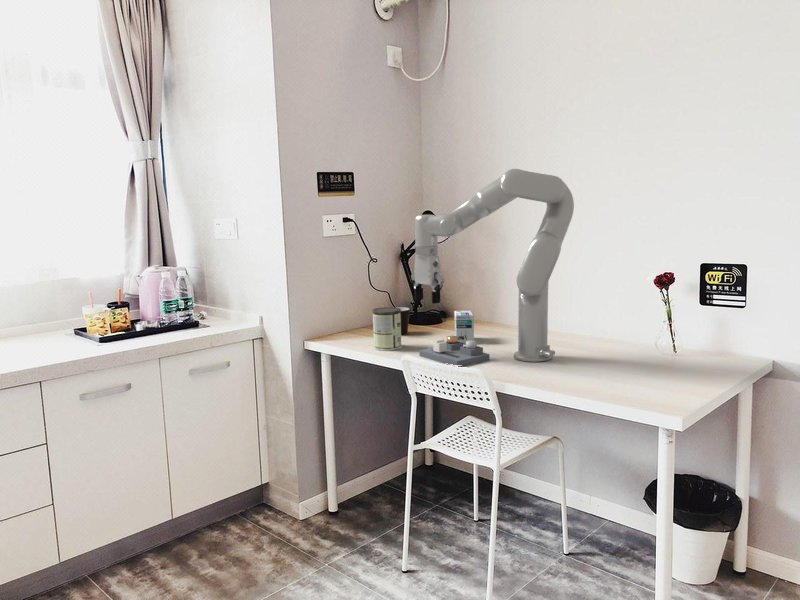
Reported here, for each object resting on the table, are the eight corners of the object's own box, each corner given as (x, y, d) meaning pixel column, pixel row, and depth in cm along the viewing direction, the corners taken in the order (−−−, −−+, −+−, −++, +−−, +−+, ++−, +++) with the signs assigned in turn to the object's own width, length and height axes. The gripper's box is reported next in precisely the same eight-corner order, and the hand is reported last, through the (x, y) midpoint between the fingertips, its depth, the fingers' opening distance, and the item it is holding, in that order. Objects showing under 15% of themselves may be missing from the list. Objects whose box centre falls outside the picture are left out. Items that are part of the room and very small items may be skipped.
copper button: (459, 344, 232) (459, 336, 231) (451, 345, 230) (451, 338, 229) (452, 342, 235) (452, 335, 234) (444, 344, 232) (444, 336, 232)
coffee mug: (393, 331, 274) (392, 307, 272) (413, 332, 271) (412, 307, 269) (382, 337, 263) (382, 311, 261) (403, 338, 260) (402, 312, 258)
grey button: (479, 349, 224) (479, 341, 223) (470, 350, 221) (470, 343, 221) (471, 347, 226) (471, 339, 226) (463, 349, 224) (463, 341, 224)
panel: (489, 360, 222) (489, 348, 222) (457, 367, 214) (456, 355, 214) (450, 349, 239) (450, 338, 238) (419, 355, 231) (419, 344, 230)
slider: (446, 350, 226) (446, 339, 226) (439, 352, 224) (439, 341, 224) (440, 349, 229) (440, 338, 228) (433, 350, 227) (433, 339, 226)
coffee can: (374, 344, 250) (373, 307, 248) (401, 344, 250) (401, 306, 247) (372, 351, 240) (371, 312, 238) (401, 350, 239) (400, 311, 237)
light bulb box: (474, 343, 247) (474, 315, 245) (456, 344, 247) (455, 315, 246) (471, 337, 258) (471, 310, 256) (454, 338, 258) (453, 310, 256)
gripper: (451, 252, 222) (451, 303, 225) (420, 249, 236) (421, 297, 239) (433, 253, 218) (433, 305, 221) (403, 250, 232) (404, 299, 235)
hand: (427, 301), depth 230 cm, fingers open, 9 cm apart
